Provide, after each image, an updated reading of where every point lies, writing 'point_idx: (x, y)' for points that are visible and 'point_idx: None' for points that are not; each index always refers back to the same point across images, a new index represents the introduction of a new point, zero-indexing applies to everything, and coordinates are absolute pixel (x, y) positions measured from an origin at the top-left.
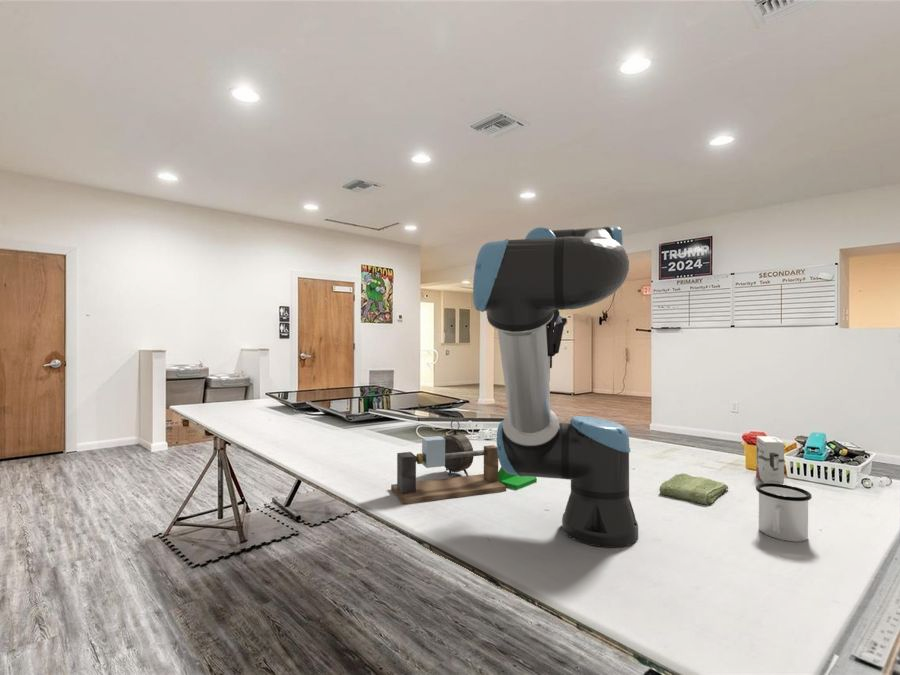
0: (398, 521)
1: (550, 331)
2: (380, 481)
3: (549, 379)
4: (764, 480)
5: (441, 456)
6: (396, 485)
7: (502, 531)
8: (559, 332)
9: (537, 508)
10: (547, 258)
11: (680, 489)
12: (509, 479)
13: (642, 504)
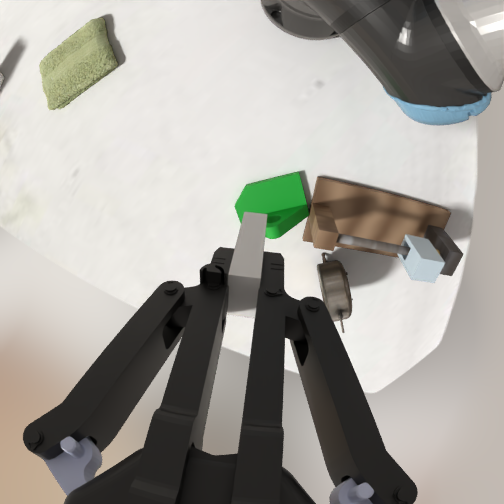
0: (476, 171)
1: (189, 405)
2: (415, 287)
3: (245, 215)
4: (2, 78)
5: (416, 243)
6: None
7: None
8: (110, 379)
9: (327, 95)
10: None
11: (101, 46)
12: (289, 203)
13: (172, 39)
